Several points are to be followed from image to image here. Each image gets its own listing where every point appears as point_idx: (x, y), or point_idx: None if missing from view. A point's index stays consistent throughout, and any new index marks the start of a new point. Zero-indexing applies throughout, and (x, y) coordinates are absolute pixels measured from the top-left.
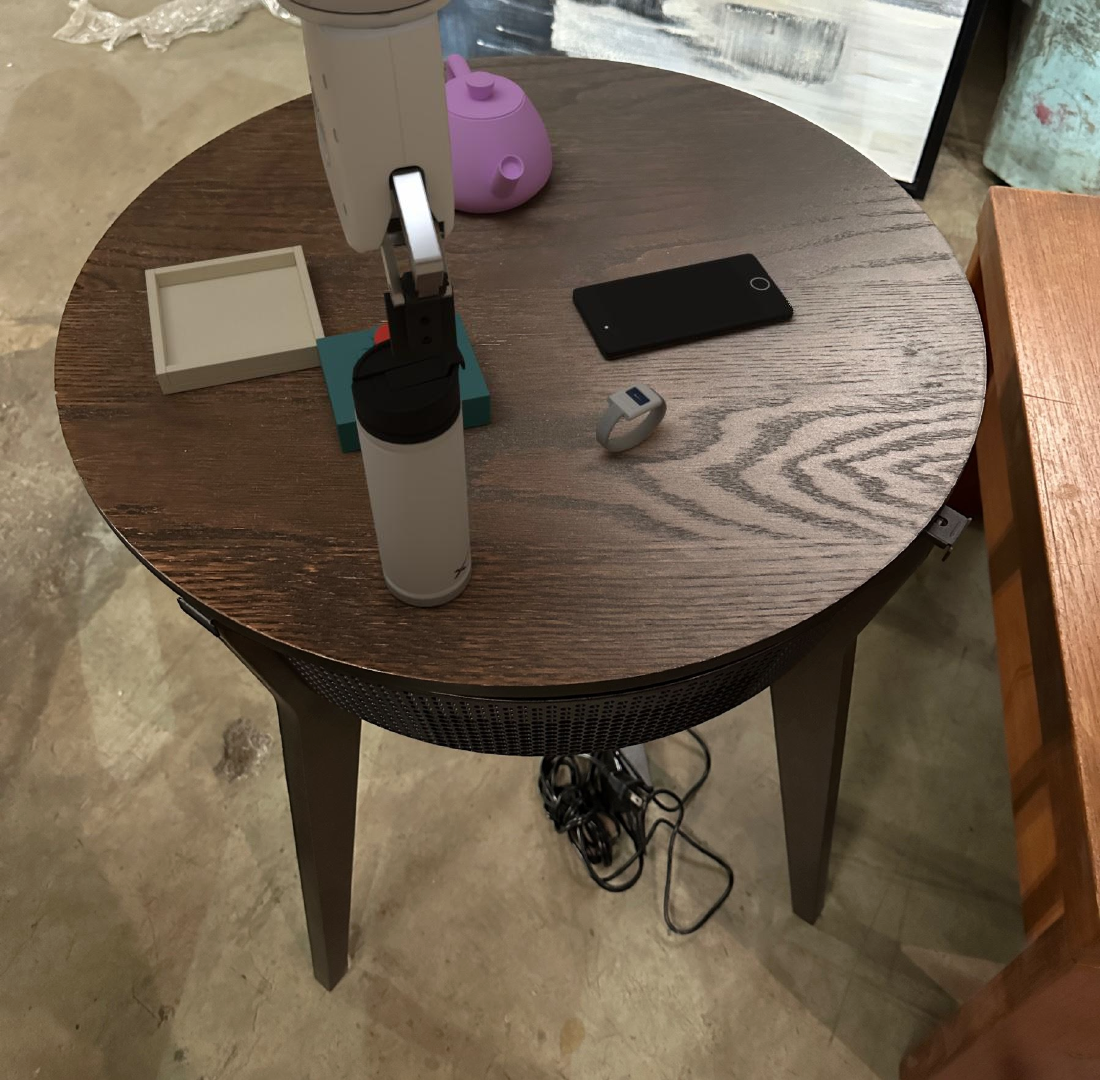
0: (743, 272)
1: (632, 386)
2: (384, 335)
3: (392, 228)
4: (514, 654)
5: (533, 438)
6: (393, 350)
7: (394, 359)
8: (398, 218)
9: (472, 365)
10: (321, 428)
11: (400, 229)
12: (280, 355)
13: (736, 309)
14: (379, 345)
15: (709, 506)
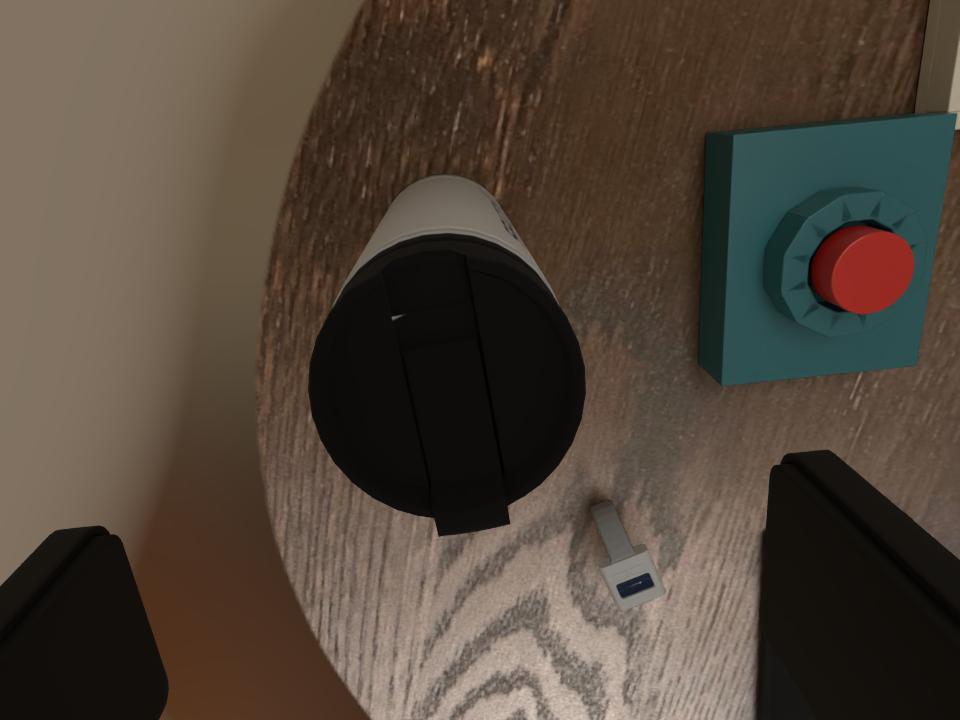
0: None
1: (655, 583)
2: (883, 250)
3: (788, 600)
4: (296, 331)
5: (653, 414)
6: (23, 562)
7: (54, 532)
8: (806, 655)
9: (792, 369)
10: (770, 101)
11: (780, 618)
12: (953, 39)
13: (790, 695)
14: (564, 341)
15: (486, 589)
